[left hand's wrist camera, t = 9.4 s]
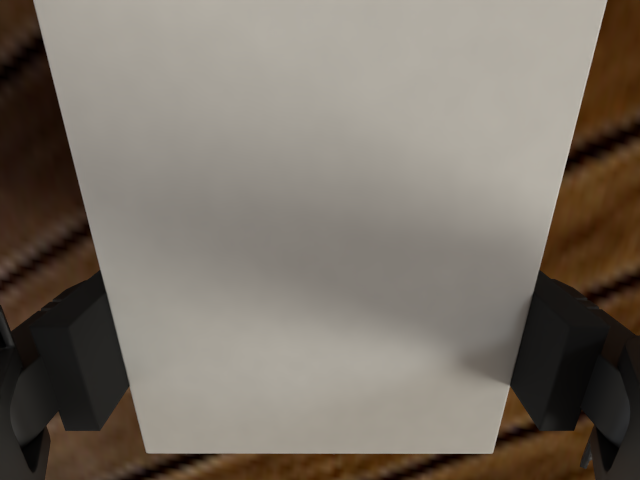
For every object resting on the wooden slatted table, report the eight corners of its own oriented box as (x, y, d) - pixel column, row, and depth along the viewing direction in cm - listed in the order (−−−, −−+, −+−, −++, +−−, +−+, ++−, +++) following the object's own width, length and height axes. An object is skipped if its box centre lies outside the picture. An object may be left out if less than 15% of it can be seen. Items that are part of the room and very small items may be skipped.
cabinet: (192, -171, 14) (-238, -1068, 3) (447, -171, 14) (877, -1062, 3) (235, 269, 21) (145, 454, 10) (404, 269, 21) (493, 454, 10)
